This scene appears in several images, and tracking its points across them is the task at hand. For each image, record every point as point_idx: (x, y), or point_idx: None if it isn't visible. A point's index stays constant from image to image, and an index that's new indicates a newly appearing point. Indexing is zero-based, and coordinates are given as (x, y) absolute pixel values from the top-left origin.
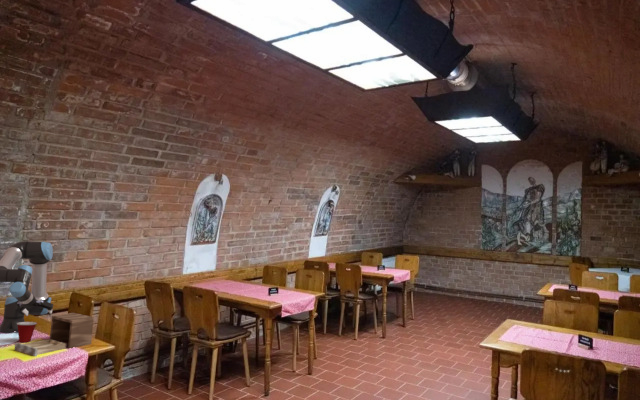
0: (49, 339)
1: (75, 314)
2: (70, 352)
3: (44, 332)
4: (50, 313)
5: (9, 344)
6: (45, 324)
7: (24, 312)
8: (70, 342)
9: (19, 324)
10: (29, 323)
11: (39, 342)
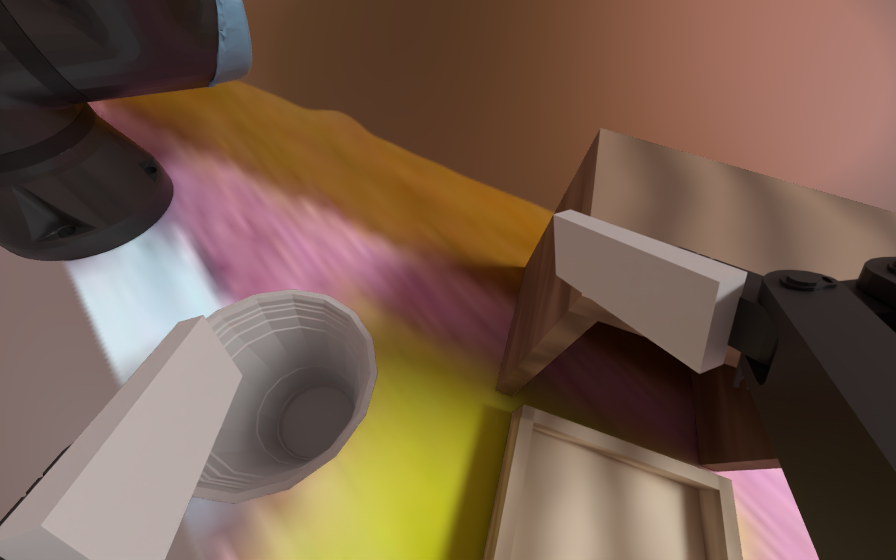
0: (533, 416)
1: (680, 171)
2: (805, 554)
3: (304, 198)
4: (569, 279)
5: (236, 539)
6: (228, 96)
7: (177, 526)
8: (759, 465)
9: (214, 499)
10: (264, 309)
11: (516, 510)
